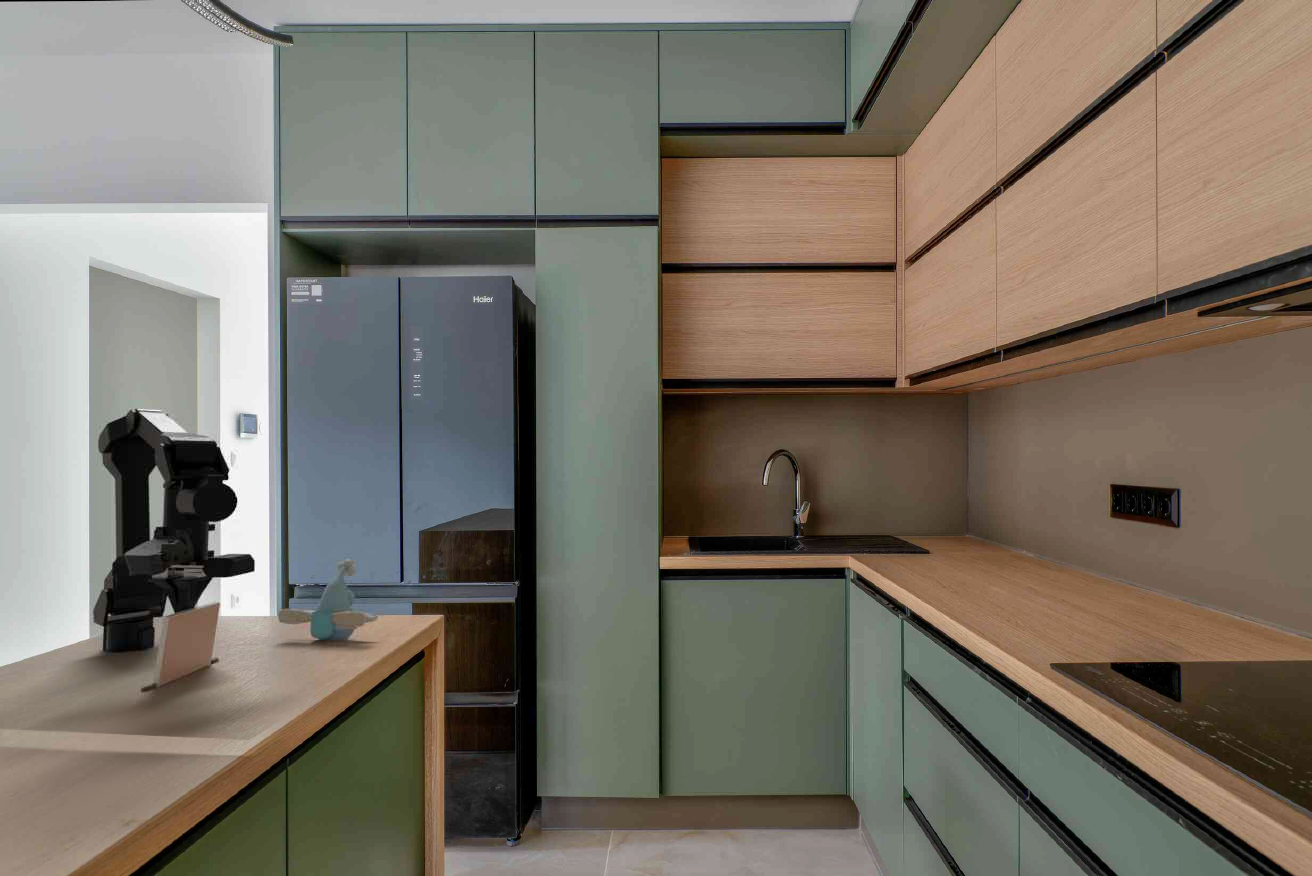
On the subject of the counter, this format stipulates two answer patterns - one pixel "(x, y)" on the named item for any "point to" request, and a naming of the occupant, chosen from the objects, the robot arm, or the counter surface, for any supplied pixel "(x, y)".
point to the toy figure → (332, 610)
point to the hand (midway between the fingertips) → (182, 622)
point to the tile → (186, 642)
